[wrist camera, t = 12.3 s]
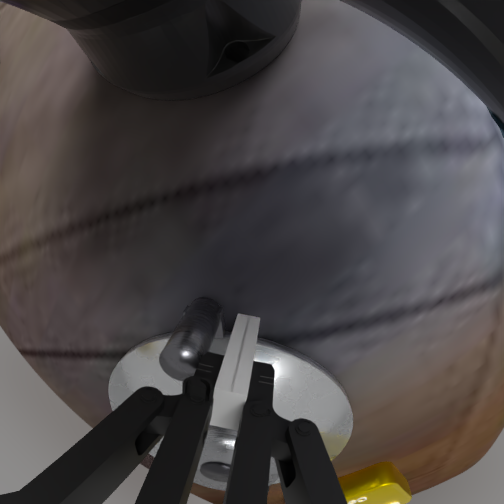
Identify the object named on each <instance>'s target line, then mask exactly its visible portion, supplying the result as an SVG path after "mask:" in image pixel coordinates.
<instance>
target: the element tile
mask: <svg viewBox="0 0 504 504" xmlns="http://www.w3.org/2000/svg"><path fill="white" fill-rule="evenodd" d="M338 480H339V483H340V485H341V488H342V490H343V493H344V496H345V498H346V501H347V503H348V504H406V503H408V502H409V501H410V500H411V498H412V496H411V492H410V488H409V484H408V481H407V480H406V478H405V477H404V476H403V475H402V474H401V473H400V471H399V470H398V469H397V468H396V467H395V466H394V464H393V463H391V462H381V463H377V464H374V465H372V466H369V467H367V468H364V469H362V470H359V471H356V472H354V473H351V474H348V475H345V476H342V477H340V478H338Z"/></svg>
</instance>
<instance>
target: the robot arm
mask: <svg viewBox="0 0 504 504" xmlns="http://www.w3.org/2000/svg"><path fill="white" fill-rule="evenodd" d="M0 1H1V2H4V3H7V4H10V5H12V6H15V7H18V8H20V9H23V10H25V11H28V12H30V13H33V14H35V15H38V16H40V17H42V18H45V19H47V20H50V21H52V22H54V23H56V24H58V25H60V26H62V27H64V28H66V29H68V31H69V32H70V34H71V35H72V36H73V38H74V39H75V40H76V42H77V43H78V44H79V46H80V47H81V48H82V50H83V51H84V52H85V54H86V55H87V56H88V57H89V59H90V61H91V63H92V65H93V66H94V68H95V69H96V70H97V72H98V73H99V74H100V75H101V76H102V77H104V78H105V79H106V80H107V81H109V82H110V83H112V84H113V85H115V86H117V87H119V88H122V89H124V90H126V91H129V92H131V93H133V94H136V95H138V96H142V97H145V98H150V99H156V100H184V99H192V98H197V97H202V96H206V95H209V94H213V93H216V92H219V91H222V90H224V89H227V88H229V87H232V86H234V85H236V84H238V83H240V82H242V81H244V80H246V79H248V78H249V77H251V76H253V75H254V74H256V73H257V72H259V71H260V70H262V69H263V68H264V67H265V66H267V65H268V64H269V63H270V62H271V61H272V60H274V59H275V58H276V57H277V56H278V55H279V54H280V53H281V51H282V50H283V49H284V48H285V46H286V45H287V44H288V42H289V41H290V39H291V38H292V36H293V34H294V32H295V30H296V27H297V24H298V21H299V16H300V9H301V1H302V0H0ZM340 1H343V2H345V3H347V4H349V5H351V6H353V7H355V8H357V9H359V10H361V11H363V12H365V13H366V14H368V15H370V16H372V17H374V18H375V19H377V20H379V21H381V22H382V23H384V24H386V25H387V26H389V27H391V28H392V29H394V30H395V31H397V32H399V33H400V34H402V35H403V36H405V37H406V38H408V39H409V40H410V41H412V42H413V43H415V44H416V45H418V46H419V47H420V48H422V49H423V50H424V51H426V52H427V53H428V54H430V55H431V56H432V57H434V58H435V59H436V60H437V61H439V62H440V63H441V64H442V65H444V66H445V67H446V68H447V69H448V70H449V71H451V72H452V73H453V74H454V75H455V76H456V77H457V78H459V79H460V80H461V81H462V82H463V83H464V84H465V85H466V86H467V87H468V88H469V89H470V90H471V91H472V92H473V93H474V94H475V95H476V96H477V97H478V98H479V99H480V100H481V101H482V102H483V103H484V104H485V105H486V106H487V108H488V110H489V112H490V114H491V116H492V118H493V119H494V121H495V122H496V123H497V125H498V126H499V128H500V130H501V133H502V135H503V138H504V0H340ZM259 324H260V318H259V317H254V316H249V315H244V314H239V313H238V315H237V318H236V321H235V324H234V328H233V331H232V334H231V337H230V340H229V344H228V347H227V350H226V353H225V355H220V354H216V353H212V352H207V353H205V354H204V355H203V356H202V357H201V359H200V361H199V364H198V366H197V369H196V371H195V373H194V376H190V377H188V378H186V379H185V380H184V381H183V384H182V394H178V395H163V394H162V392H161V391H160V390H158V389H157V388H154V387H150V386H145V387H141V388H139V389H137V390H136V391H135V392H134V393H133V394H132V395H131V396H130V397H128V398H127V399H126V400H125V401H124V402H123V403H122V404H121V405H119V406H118V407H117V408H116V409H115V410H114V411H113V412H112V413H110V414H109V415H108V416H107V417H106V418H105V419H104V420H102V421H101V422H100V423H99V424H98V425H97V426H96V427H94V428H93V429H92V430H91V431H90V432H89V433H88V434H86V435H85V436H84V437H83V438H82V439H81V440H79V441H78V442H77V443H76V444H75V445H74V446H73V447H71V448H70V449H69V450H68V451H67V452H65V453H64V454H63V455H62V456H61V457H60V458H58V459H57V460H56V461H55V462H54V463H52V464H51V465H50V466H49V467H48V468H46V469H45V470H44V471H43V472H42V473H40V474H39V475H38V476H37V477H36V478H34V479H33V480H32V481H31V482H30V483H28V484H27V485H26V486H24V487H23V488H22V489H21V490H20V491H16V492H12V493H8V494H3V495H0V504H102V503H103V502H104V501H105V500H106V499H107V498H108V497H109V496H110V495H111V494H112V493H113V492H114V491H115V490H116V489H117V488H118V486H119V485H120V484H121V483H122V482H123V481H124V480H125V479H126V478H127V477H128V476H129V475H130V473H131V472H132V471H133V470H134V469H135V468H136V467H137V466H138V464H140V462H141V461H142V460H143V459H144V458H145V457H146V456H147V455H148V453H149V452H150V451H151V450H152V449H153V448H154V447H155V445H156V444H157V443H158V442H159V441H160V440H161V439H162V437H163V436H164V437H163V440H162V442H161V444H160V446H159V449H158V451H157V453H156V456H155V458H154V460H153V463H152V465H151V467H150V470H149V472H148V474H147V477H146V479H145V481H144V483H143V486H142V488H141V490H140V493H139V495H138V497H137V500H136V503H135V504H187V500H188V497H189V494H190V491H191V487H192V484H193V481H194V477H195V474H196V471H197V468H198V464H199V461H200V458H201V454H202V451H203V448H204V444H205V441H206V438H207V434H208V428H209V424H210V425H213V426H218V427H222V428H227V429H232V430H237V431H238V433H237V437H236V441H235V445H234V451H233V457H232V462H231V467H230V472H229V477H228V482H227V486H226V491H225V496H224V501H223V504H267V495H268V484H269V473H270V461H271V457H273V458H275V463H276V467H277V471H278V475H279V479H280V483H281V488H282V492H283V496H284V499H285V503H286V504H348V503H347V501H346V498H345V496H344V493H343V490H342V488H341V485H340V483H339V480H338V478H337V475H336V473H335V470H334V468H333V465H332V463H331V460H330V457H329V455H328V452H327V450H326V447H325V445H324V442H323V440H322V437H321V434H320V432H319V429H318V427H317V426H316V424H315V423H313V422H312V421H311V420H308V419H304V418H299V419H295V420H293V421H289V420H287V419H284V418H282V417H280V416H279V415H278V414H277V413H276V412H275V411H274V409H273V393H274V378H275V370H274V368H273V366H272V364H268V363H263V362H257V361H254V355H255V349H256V342H257V336H258V330H259Z"/></svg>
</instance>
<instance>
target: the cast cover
mask: <svg viewBox="0 0 504 504" xmlns="http://www.w3.org/2000/svg"><path fill="white" fill-rule="evenodd" d="M237 433H238V431H237V430H232V429H227V428H222V427H218V426H213V425H210V424H209V428H208V434H207V438H206V441H205V444H204V448H203V451H202V454H201V458H200V461H199V464H198V468H197V471H196V474H195V477H194V481H193V482H194V483H197V484H199V485H202V486H205V487H209V488H213V489H218V490H224V491H226V486H227V482H228V477H229V472H230V467H231V462H232V457H233V451H234V445H235V441H236V437H237ZM278 477H279V475H278V471H277V467H276V463H275V458H273V457H271V461H270V473H269V484H268V486H270V485H271V484H273V483H274V482H275V481H276V480H277V479H278Z"/></svg>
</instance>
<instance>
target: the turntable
mask: <svg viewBox="0 0 504 504" xmlns="http://www.w3.org/2000/svg"><path fill="white" fill-rule="evenodd" d="M183 314H184V316H183V318H182V319H181V321H180V322H179V324H178V326H177V327H176V329H175V331H174V332H170V333H166V334H162V335H158V336H154V337H152V338H150V339H147V340H145V341H143V342H141V343H139V344H138V345H136V346H134V347H133V348H131V349H130V350H129V351H128V352H127V353H126V354H125V355H124V356H123V357H122V358H121V360H120V361H119V362H118V364H117V365H116V367H115V369H114V370H113V372H112V374H111V377H110V380H109V388H108V392H109V400H110V404H111V407H112V410H113V411H114V410H115V409H116V408H117V407H118V406H119V405H121V404H122V403H123V402H124V401H125V400H126V399H127V398H128V397H130V396H131V395H132V394H133V393H134V392H135V391H136V390H137V389H139V388H141V387H145V386H150V387H154V388H157V389H158V390H160V391H161V392H162V394H163V395H178V394H182V384H183V381H184V380H185V379H186V378H188V377H190V376H194V373H195V371H196V369H197V366H198V364H199V361H200V359H201V357H202V356H203V355H204V354H205V353H207V352H212V353H216V354H220V355H225V353H226V350H227V347H228V344H229V340H230V337H231V334H232V332H229V331H226V327H225V319H224V310H223V306H219V305H218V303H217V302H215V301H214V300H212V299H210V298H205V297H201V298H197V299H195V300H194V301H193V302H192V303H191V305H190V306H187V307H186V309H185V310H184V312H183ZM254 361H257V362H263V363H268V364H272V366H273V368H274V370H275V378H274V393H273V409H274V411H275V412H276V413H277V414H278V415H279V416H280V417H282V418H284V419H287V420H289V421H293V420H295V419H299V418H304V419H308V420H311V421H312V422H313V423H315V424H316V426H317V427H318V429H319V432H320V434H321V437H322V440H323V442H324V445H325V447H326V450H327V452H328V455H329V457H330V460H331V461H332V460H333V459H334V458H335V457H336V456H337V455H338V454H339V453H340V452H341V451H342V450H343V448H344V447H345V445H346V444H347V442H348V440H349V438H350V436H351V432H352V428H353V414H352V410H351V406H350V402H349V399H348V396H347V394H346V392H345V390H344V388H343V387H342V385H341V384H340V383H339V382H338V380H337V379H336V378H335V377H334V376H333V375H332V374H331V373H330V372H329V371H328V370H327V369H325V368H324V367H323V366H322V365H320V364H319V363H317V362H316V361H314V360H313V359H311V358H310V357H308V356H306V355H304V354H302V353H300V352H298V351H296V350H294V349H292V348H289V347H287V346H284V345H281V344H279V343H276V342H274V341H270V340H267V339H263V338H259V337H257V342H256V349H255V355H254ZM163 437H164V436H163ZM163 437H162V439H161V440H160V441H159V442H158V443H157V444H156V445H155V447H154V448H153V449H152V450H151V451H150V452H149V454H150V455H152V456H153V457H155V456H156V453H157V451H158V449H159V446H160V444H161V442H162V440H163ZM275 483H280V479H279V477H278V479H277V480H276V481H275V482H274V483H273V484H275Z"/></svg>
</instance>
